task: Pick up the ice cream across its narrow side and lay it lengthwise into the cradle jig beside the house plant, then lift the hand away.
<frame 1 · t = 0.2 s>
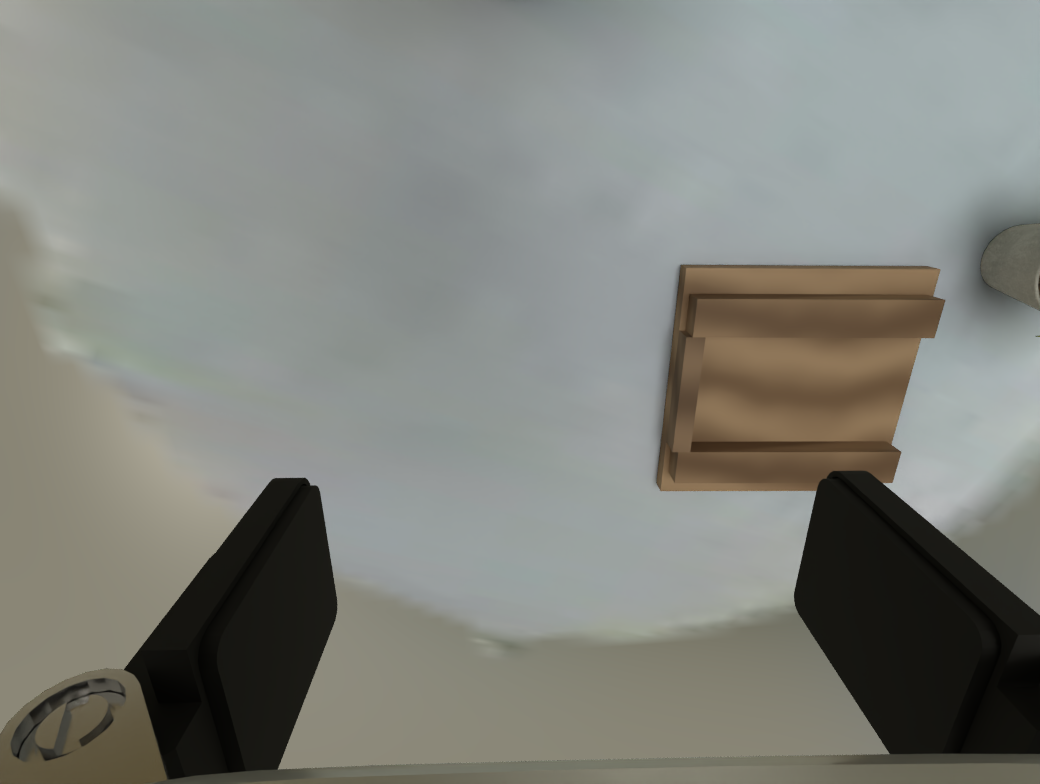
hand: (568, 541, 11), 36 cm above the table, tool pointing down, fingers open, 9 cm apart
cradle: (782, 382, 49), on the table
house plant: (1028, 249, 45), on the table
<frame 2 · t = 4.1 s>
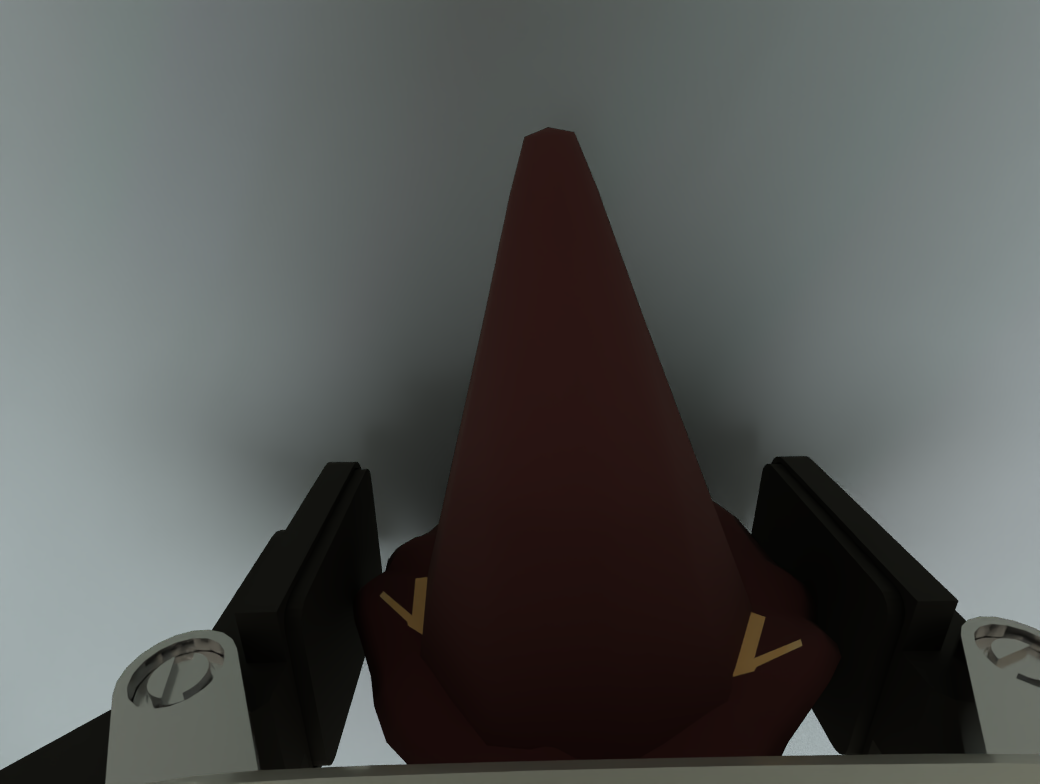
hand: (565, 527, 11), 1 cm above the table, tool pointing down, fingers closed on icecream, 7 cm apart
icecream: (560, 505, 13), on the table, touching gripper
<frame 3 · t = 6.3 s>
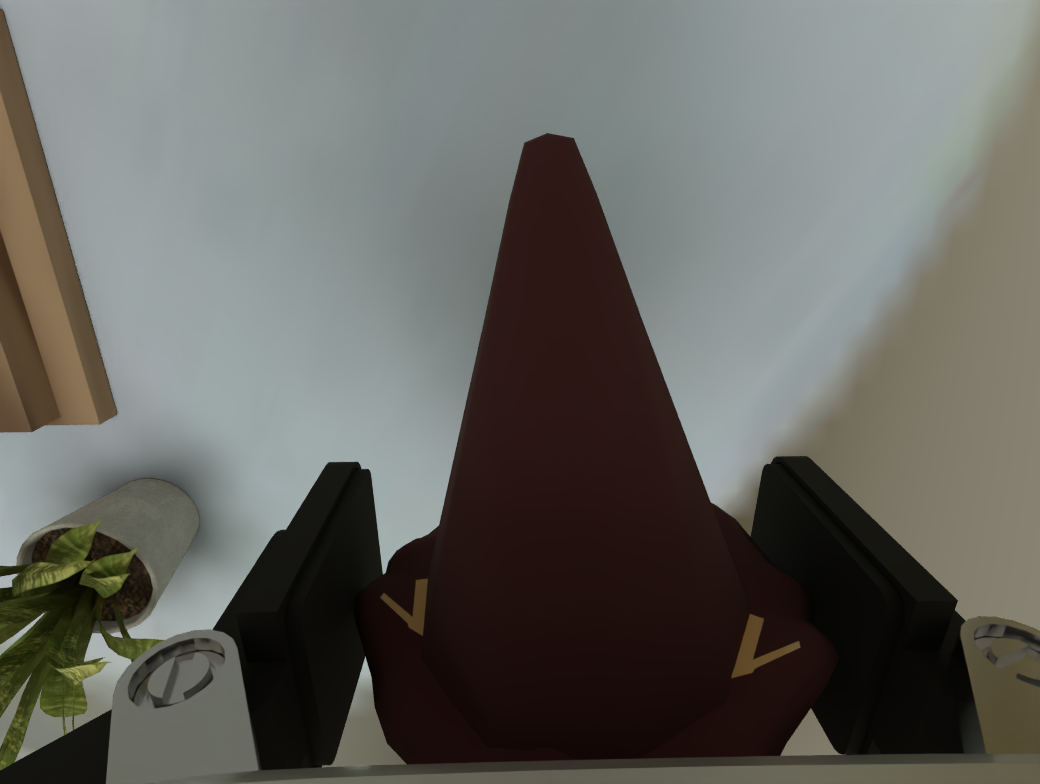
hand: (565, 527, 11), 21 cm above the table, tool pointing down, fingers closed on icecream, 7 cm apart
icecream: (560, 507, 13), point 19 cm above the table, touching gripper
house plant: (173, 528, 36), on the table
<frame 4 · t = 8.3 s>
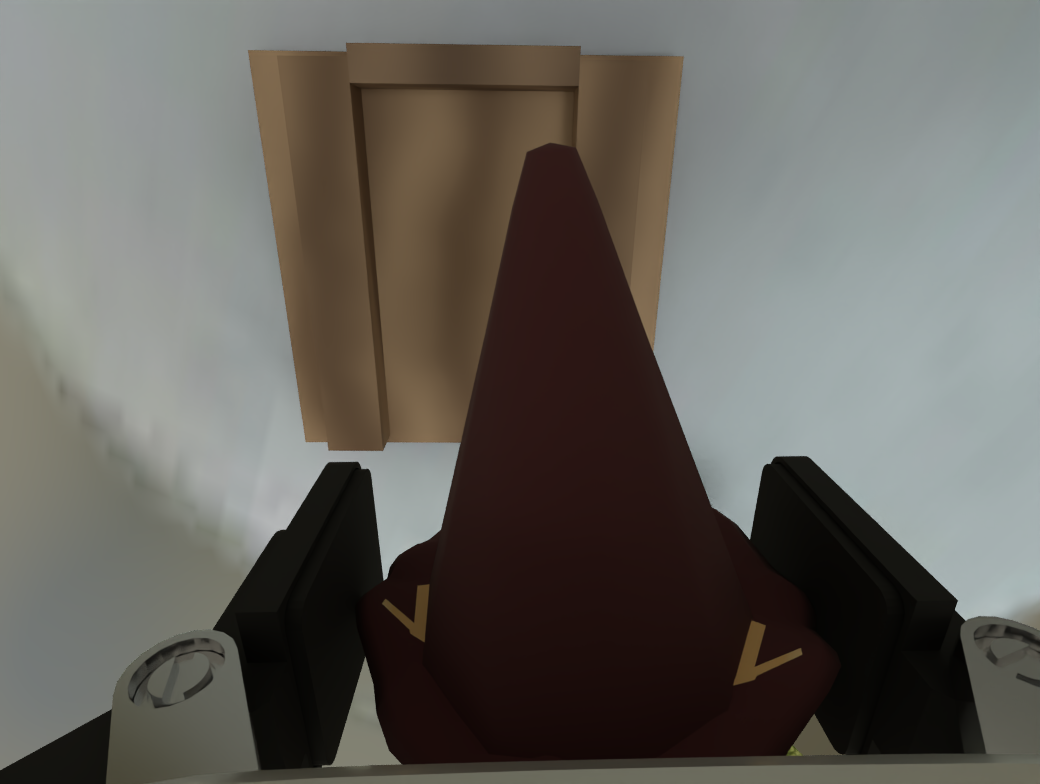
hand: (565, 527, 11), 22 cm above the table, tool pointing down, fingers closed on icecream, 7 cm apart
cradle: (473, 267, 31), on the table
icecream: (561, 511, 13), point 20 cm above the table, touching gripper
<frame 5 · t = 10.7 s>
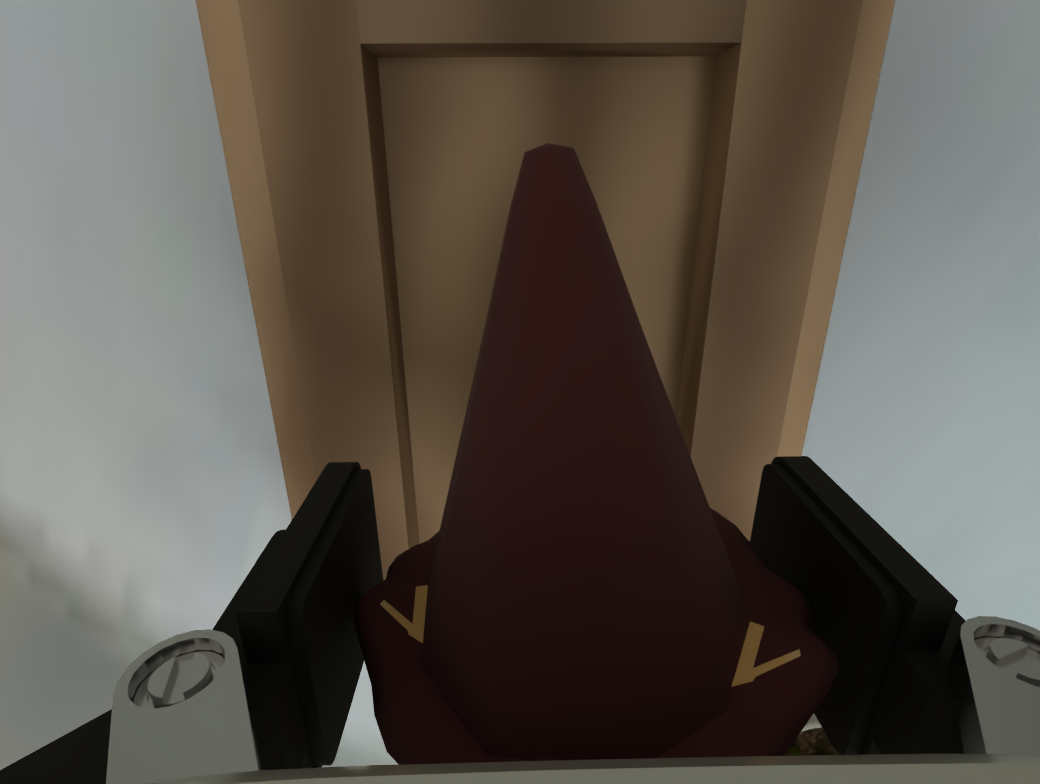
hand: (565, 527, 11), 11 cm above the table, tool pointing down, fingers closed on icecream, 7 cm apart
cradle: (541, 323, 21), on the table
icecream: (560, 512, 13), point 10 cm above the table, touching gripper
house plant: (764, 671, 28), on the table
when the fingers open (4 cm above the table, at t = 12.7 s): icecream drops 1 cm, resting on cradle.
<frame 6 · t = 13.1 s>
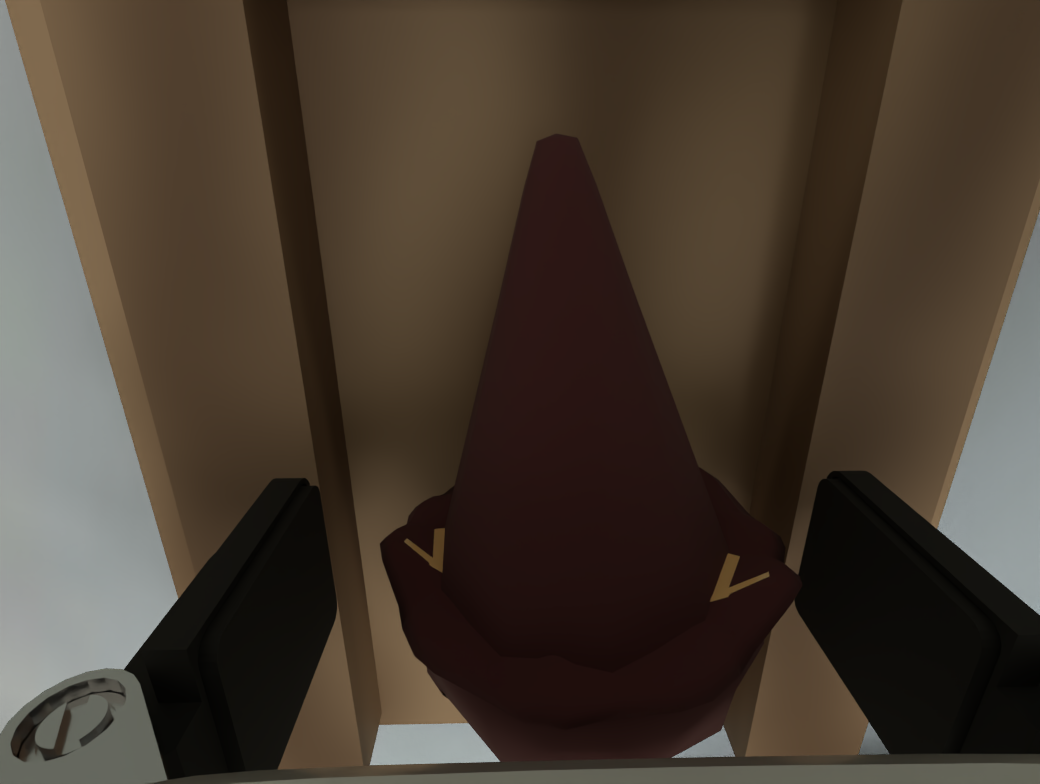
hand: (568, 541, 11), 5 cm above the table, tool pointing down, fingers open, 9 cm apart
cradle: (551, 396, 15), on the table
icecream: (561, 474, 14), point 1 cm above the table, touching cradle
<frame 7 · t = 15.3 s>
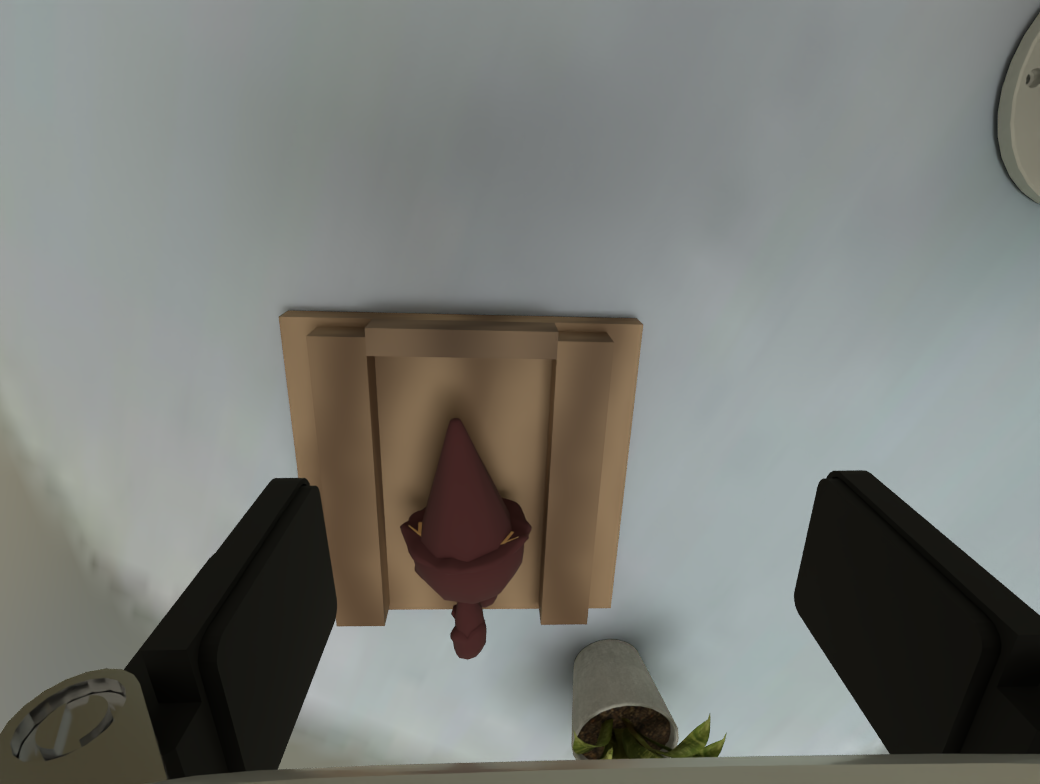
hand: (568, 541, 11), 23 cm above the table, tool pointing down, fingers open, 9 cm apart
cradle: (465, 468, 36), on the table
icecream: (468, 502, 35), point 1 cm above the table, touching cradle
house plant: (613, 675, 43), on the table
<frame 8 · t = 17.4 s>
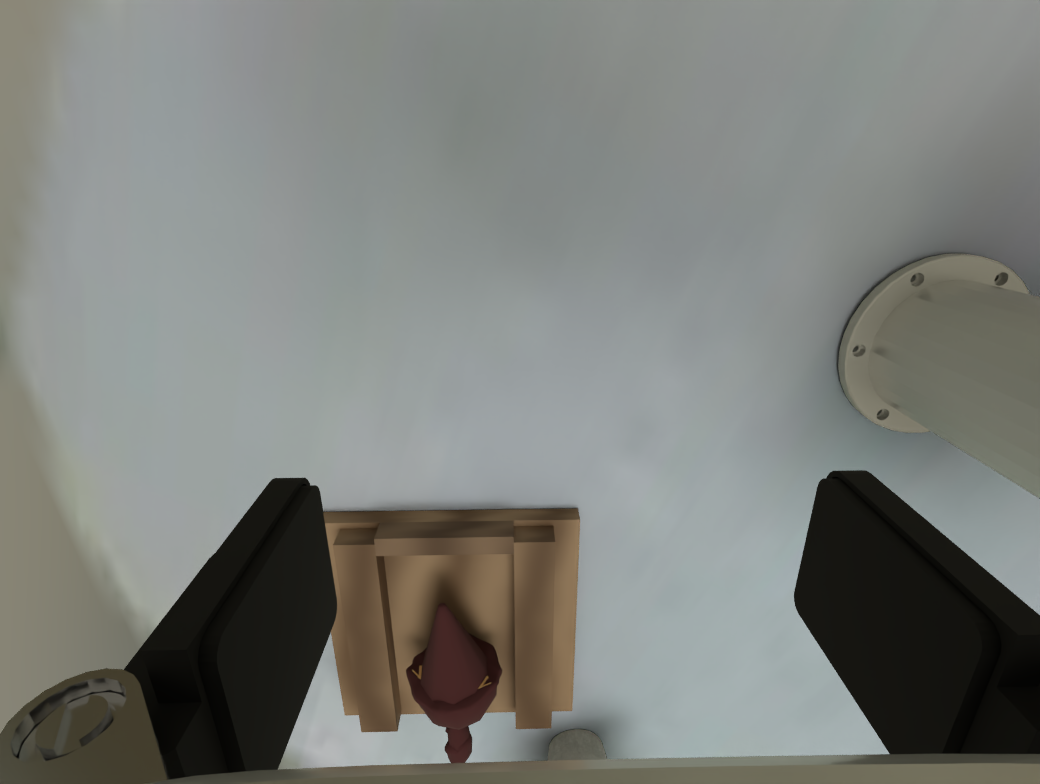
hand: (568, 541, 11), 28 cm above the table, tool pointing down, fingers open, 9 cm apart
cradle: (455, 611, 47), on the table
icecream: (458, 640, 47), point 1 cm above the table, touching cradle
house plant: (581, 754, 54), on the table
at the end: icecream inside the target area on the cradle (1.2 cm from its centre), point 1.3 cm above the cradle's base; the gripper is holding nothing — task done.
